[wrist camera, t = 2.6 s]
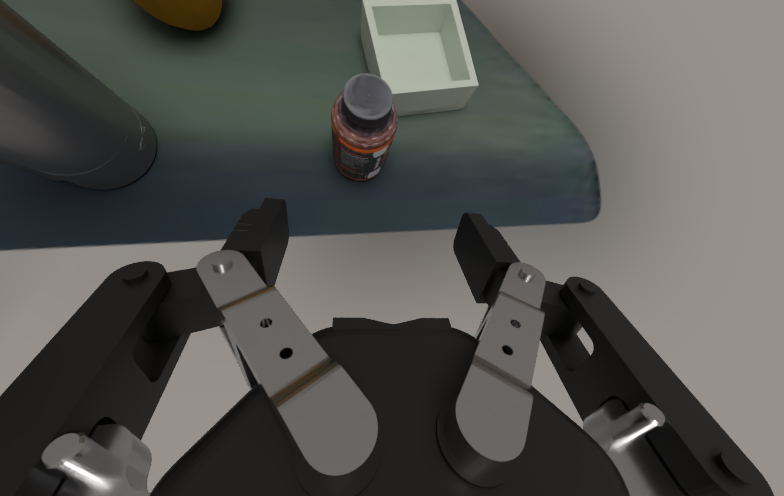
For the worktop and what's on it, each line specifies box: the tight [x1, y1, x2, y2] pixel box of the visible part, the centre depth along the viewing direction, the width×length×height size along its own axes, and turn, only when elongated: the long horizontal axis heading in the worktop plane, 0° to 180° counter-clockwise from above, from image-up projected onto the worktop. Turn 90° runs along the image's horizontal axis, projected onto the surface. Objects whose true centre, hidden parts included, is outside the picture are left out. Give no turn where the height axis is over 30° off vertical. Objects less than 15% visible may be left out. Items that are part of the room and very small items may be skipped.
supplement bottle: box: [331, 73, 398, 181], centre depth 27 cm, size 6×6×11 cm
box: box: [360, 0, 479, 117], centre depth 33 cm, size 11×11×4 cm
